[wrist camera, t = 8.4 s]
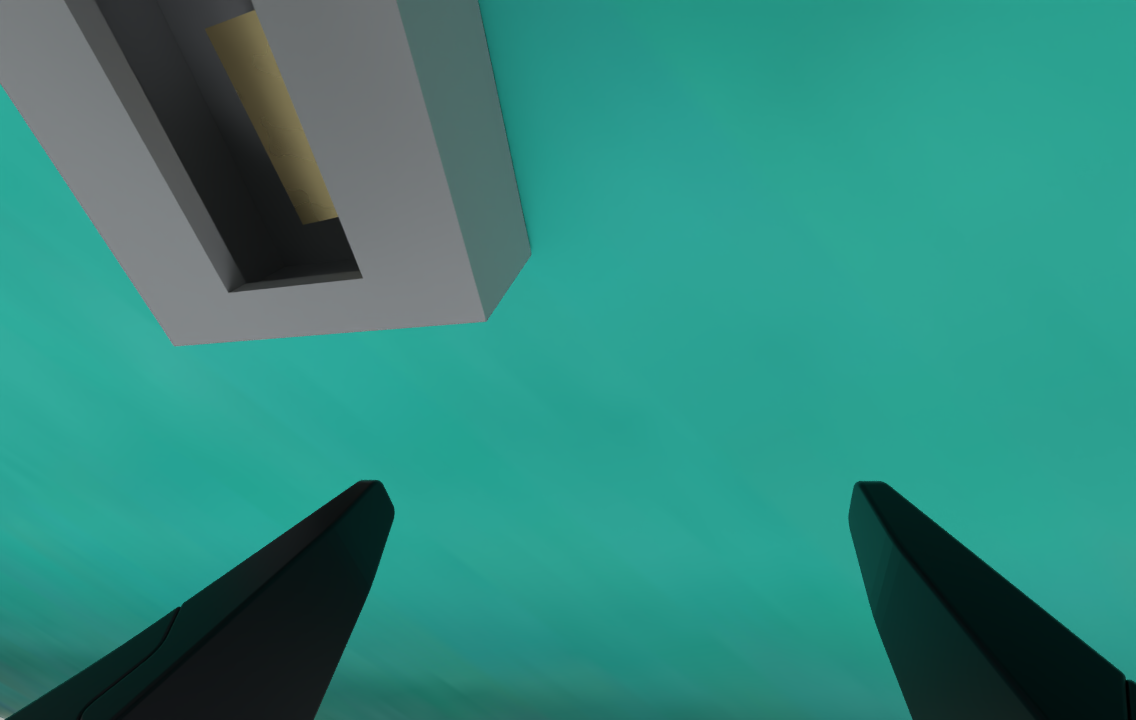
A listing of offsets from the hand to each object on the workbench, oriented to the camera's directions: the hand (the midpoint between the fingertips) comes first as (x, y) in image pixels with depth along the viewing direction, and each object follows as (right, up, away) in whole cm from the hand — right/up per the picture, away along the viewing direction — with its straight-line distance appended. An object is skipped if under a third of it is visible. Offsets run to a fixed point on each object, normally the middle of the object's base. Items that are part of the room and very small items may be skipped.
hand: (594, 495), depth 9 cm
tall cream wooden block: (-9, +11, +8) cm, 17 cm away
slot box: (-9, +12, +9) cm, 17 cm away
